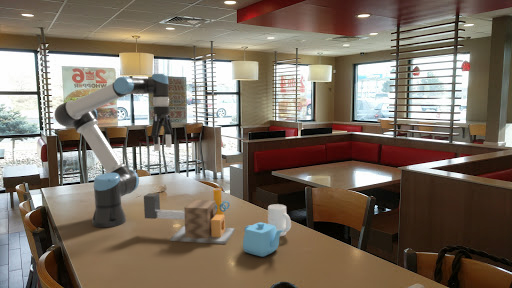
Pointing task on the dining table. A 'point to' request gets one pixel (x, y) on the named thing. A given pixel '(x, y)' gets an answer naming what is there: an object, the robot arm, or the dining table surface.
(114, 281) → the dining table surface
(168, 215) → the grey mallet
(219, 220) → the block
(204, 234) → the block
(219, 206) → the cylinder
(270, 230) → the teapot
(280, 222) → the mug
